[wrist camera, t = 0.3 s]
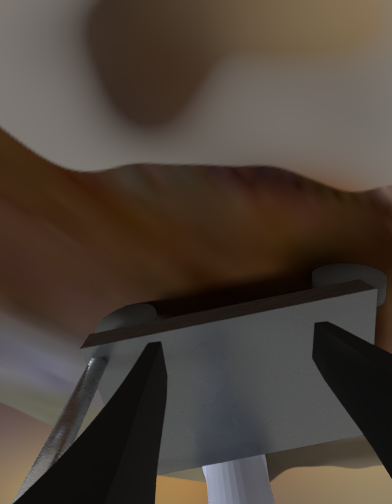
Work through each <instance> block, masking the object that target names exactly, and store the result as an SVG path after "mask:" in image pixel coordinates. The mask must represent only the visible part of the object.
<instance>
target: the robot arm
mask: <svg viewBox="0 0 392 504" xmlns="http://www.w3.org/2000/svg"><path fill="white" fill-rule="evenodd" d="M312 359H313V361H314V363H315V364H316V366H317V368H318V370H319V372H320V373H321V375H322V377H323V379H324V380H325V382H326V383H327V385H328V386H329V387H330V389H331V390H332V392H333V393H334V394H335V396H336V397H337V399H338V400H339V401H340V403H341V404H342V406H343V407H344V408H345V410H346V411H347V412H348V414H349V415H350V417H351V418H352V419H353V421H354V422H355V423H356V425H357V426H358V428H359V429H360V430H361V432H362V433H363V435H364V436H365V437H366V439H367V440H368V442H369V443H370V445H371V446H372V448H373V449H374V451H375V452H376V454H377V455H378V457H379V459H380V460H381V462H382V464H383V465H384V467H385V468H386V470H387V472H388V473H389V475H390V477H391V478H392V354H391V353H389V352H387V351H385V350H383V349H381V348H379V347H377V346H375V345H373V344H371V343H369V342H367V341H365V340H363V339H361V338H360V337H358V336H356V335H354V334H352V333H350V332H348V331H346V330H344V329H342V328H341V327H339V326H337V325H335V324H333V323H330V322H328V321H324V322H315V323H314V336H313V350H312ZM167 379H168V375H167V370H166V364H165V359H164V353H163V348H162V343H161V341H158V342H150V343H148V344H147V345H146V346H145V348H144V350H143V351H142V353H141V354H140V356H139V358H138V359H137V361H136V362H135V364H134V366H133V367H132V369H131V370H130V372H129V373H128V375H127V376H126V378H125V379H124V381H123V382H122V383H121V385H120V386H119V388H118V389H117V390H116V392H115V393H114V394H113V396H112V397H111V398H110V400H109V401H108V403H107V404H106V405H105V406H104V408H103V409H102V410H101V412H100V413H99V414H98V415H97V416H96V418H95V419H94V420H93V421H92V422H91V424H90V425H89V426H88V427H87V428H86V430H85V431H84V432H83V433H82V434H81V435H80V436H79V437H78V438H77V440H76V441H75V442H74V443H73V444H72V445H71V446H70V447H69V448H68V449H67V451H66V452H65V453H64V454H63V455H62V456H61V457H60V458H59V459H58V460H57V461H56V462H55V463H54V464H53V465H52V466H51V467H50V468H49V469H48V470H47V471H46V472H45V473H44V474H43V475H42V476H41V477H40V478H39V479H38V480H37V481H36V482H35V483H34V484H33V485H32V486H31V487H30V488H29V489H28V490H27V491H26V492H25V493H24V494H23V495H21V496H20V497H19V498H18V499H17V500H16V501H15V502H14V503H13V504H155V491H156V477H157V468H158V459H159V452H160V445H161V438H162V431H163V424H164V416H165V409H166V402H167ZM202 468H203V472H204V475H205V478H206V482H207V490H208V503H209V504H275V500H274V497H273V493H272V490H271V486H270V483H269V476H268V470H267V463H266V457H265V454H264V455H258V456H253V457H248V458H243V459H238V460H233V461H228V462H223V463H217V464H212V465H207V466H202Z"/></svg>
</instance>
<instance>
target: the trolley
mask: <svg viewBox="0 0 392 504" xmlns="http://www.w3.org/2000/svg"><path fill="white" fill-rule="evenodd" d="M386 289H387V277H386V275H385V274H384V273H383V272H381V271H379V270H377V269H375V268H372V267H369V266H365V265H360V264H352V263H334V264H327V265H323V266H320V267H318V268H316V269H315V270H314V271H313V272H312V289H308V290H303V291H299V292H294V293H289V294H284V295H279V296H274V297H269V298H264V299H259V300H254V301H250V302H245V303H240V304H235V305H230V306H225V307H220V308H215V309H210V310H206V311H201V312H196V313H191V314H186V315H181V316H176V317H171V318H166V319H162V320H158V316H157V313H156V310H155V308H154V307H153V306H152V305H149V304H144V303H141V304H133V305H129V306H126V307H123V308H121V309H118V310H116V311H114V312H113V313H111V314H109V315H108V316H107V317H105V318H104V319H103V320H102V321H101V322H100V323H99V324H98V326H97V327H96V329H95V333H93V334H89V336H88V338H87V339H86V341H85V342H84V344H83V345H82V347H81V348H80V350H81V352H82V355H83V357H84V359H85V361H86V363H87V367H86V369H85V370H84V372H83V374H82V376H81V378H80V380H79V381H78V383H77V385H76V387H75V389H74V391H73V392H72V394H71V396H70V398H69V400H68V402H67V403H66V405H65V407H64V409H63V411H62V413H61V414H60V416H59V418H58V420H57V422H56V424H55V425H54V427H53V429H52V431H51V433H50V435H49V437H48V438H47V440H46V442H45V444H44V446H43V447H42V449H41V451H40V453H39V455H38V457H37V458H36V460H35V462H34V464H33V466H32V468H31V469H30V471H29V473H28V475H27V477H26V479H25V481H24V482H23V484H22V486H21V488H20V490H19V491H18V493H17V495H16V497H15V499H14V501H13V503H14V502H15V501H16V500H17V499H18V498H19V497H20V496H21V495H23V494H24V493H25V492H26V491H27V490H28V489H29V488H30V487H31V486H32V485H33V484H34V483H35V482H36V481H37V480H38V479H39V478H40V477H41V476H42V475H43V474H44V473H45V472H46V471H47V470H48V469H49V468H50V467H51V466H52V465H53V464H54V463H55V462H56V461H57V460H58V459H59V458H60V457H61V456H62V455H63V454H64V453H65V452H66V451H67V449H68V448H69V447H70V446H71V445H72V444H73V443H74V440H75V438H76V436H77V434H78V431H79V429H80V427H81V424H82V422H83V420H84V417H85V415H86V413H87V411H88V408H89V406H90V404H91V401H92V399H93V397H94V394H95V392H96V390H97V388H98V390H99V392H100V394H101V397H102V399H103V401H104V403H105V405H106V404H107V403H108V401H109V400H110V398H111V397H112V396H113V394H114V393H115V392H116V390H117V389H118V388H119V386H120V385H121V383H122V382H123V381H124V379H125V378H126V376H127V375H128V373H129V372H130V370H131V369H132V367H133V366H134V364H135V362H136V361H137V359H138V358H139V356H140V354H141V353H142V351H143V350H144V348H145V346H146V345H147V344H148V343H150V342H158V341H161V343H162V348H163V353H164V359H165V364H166V370H167V375H168V379H167V402H166V409H165V416H164V424H163V431H162V438H161V445H160V452H159V459H158V468H157V475H161V474H166V473H171V472H176V471H182V470H187V469H192V468H197V467H202V466H207V465H212V464H217V463H223V462H228V461H233V460H238V459H243V458H248V457H253V456H258V455H264V454H269V453H274V452H279V451H284V450H289V449H294V448H300V447H305V446H310V445H315V444H320V443H325V442H330V441H335V440H341V439H346V438H351V437H356V436H361V435H363V433H362V432H361V430H360V429H359V428H358V426H357V425H356V423H355V422H354V421H353V419H352V418H351V417H350V415H349V414H348V412H347V411H346V410H345V408H344V407H343V406H342V404H341V403H340V401H339V400H338V399H337V397H336V396H335V394H334V393H333V392H332V390H331V389H330V387H329V386H328V385H327V383H326V382H325V380H324V379H323V377H322V375H321V373H320V372H319V370H318V368H317V366H316V364H315V363H314V361H313V359H312V350H313V336H314V323H315V322H324V321H328V322H330V323H333V324H335V325H337V326H339V327H341V328H342V329H344V330H346V331H348V332H350V333H352V334H354V335H356V336H358V337H360V338H361V339H363V340H365V341H367V342H369V343H371V344H373V345H374V337H375V321H376V307H378V306H380V305H382V304H383V303H384V302H385V300H386ZM13 503H12V504H13Z"/></svg>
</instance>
